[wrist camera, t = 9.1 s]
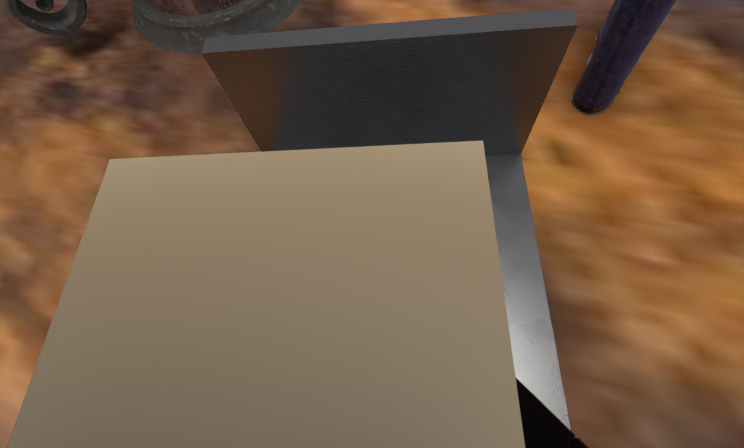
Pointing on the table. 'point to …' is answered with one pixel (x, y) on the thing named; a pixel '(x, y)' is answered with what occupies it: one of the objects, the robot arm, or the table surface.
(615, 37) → the flask
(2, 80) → the table surface
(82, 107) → the table surface
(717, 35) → the table surface
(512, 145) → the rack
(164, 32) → the tankard
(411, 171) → the birch block
